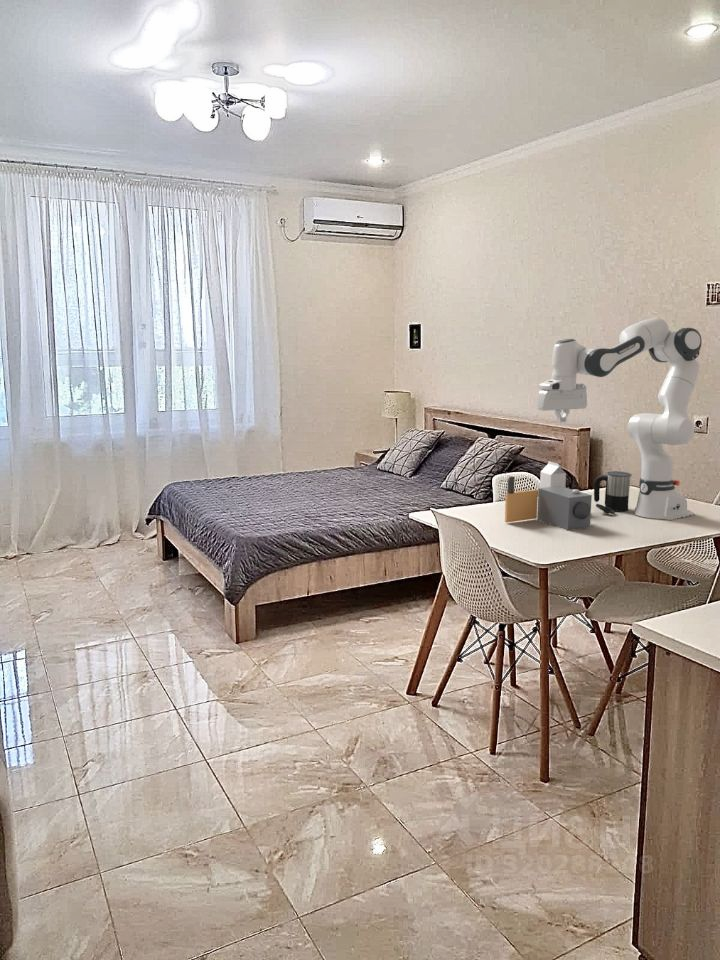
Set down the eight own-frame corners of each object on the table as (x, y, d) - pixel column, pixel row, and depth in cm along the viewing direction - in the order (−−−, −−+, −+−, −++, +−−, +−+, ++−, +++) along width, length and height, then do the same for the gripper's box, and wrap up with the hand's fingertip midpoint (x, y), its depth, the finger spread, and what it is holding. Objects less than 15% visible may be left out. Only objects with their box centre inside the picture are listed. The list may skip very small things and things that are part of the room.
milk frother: (626, 507, 308) (628, 471, 305) (635, 516, 292) (638, 478, 290) (590, 506, 309) (592, 470, 307) (597, 515, 294) (599, 478, 291)
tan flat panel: (537, 518, 288) (539, 474, 284) (507, 523, 282) (509, 477, 278) (533, 517, 290) (535, 473, 286) (503, 521, 284) (505, 476, 280)
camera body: (558, 516, 293) (560, 482, 290) (593, 528, 275) (595, 493, 272) (537, 519, 289) (538, 485, 286) (571, 531, 271) (573, 495, 268)
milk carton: (549, 512, 300) (551, 464, 296) (538, 508, 307) (540, 461, 303) (564, 510, 303) (566, 463, 299) (553, 506, 309) (555, 460, 306)
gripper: (580, 382, 286) (578, 419, 289) (535, 384, 278) (534, 422, 281) (592, 383, 280) (589, 421, 283) (546, 385, 272) (544, 424, 275)
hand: (561, 421), depth 282 cm, fingers closed
